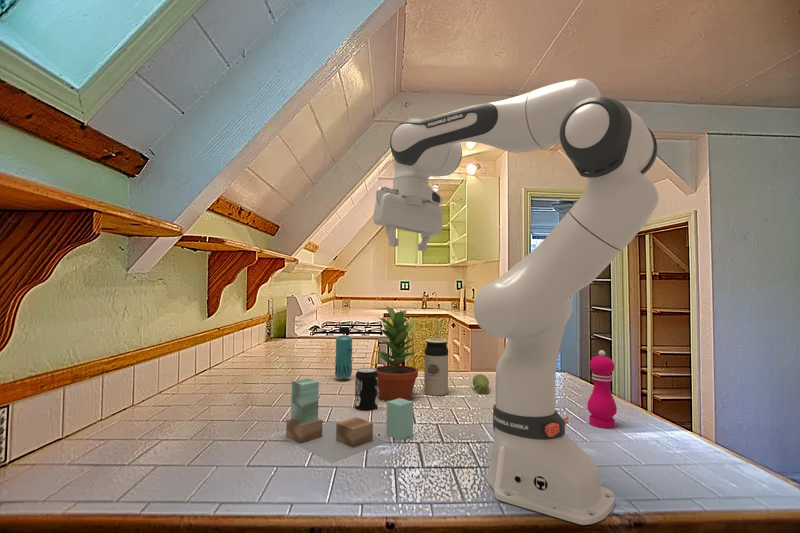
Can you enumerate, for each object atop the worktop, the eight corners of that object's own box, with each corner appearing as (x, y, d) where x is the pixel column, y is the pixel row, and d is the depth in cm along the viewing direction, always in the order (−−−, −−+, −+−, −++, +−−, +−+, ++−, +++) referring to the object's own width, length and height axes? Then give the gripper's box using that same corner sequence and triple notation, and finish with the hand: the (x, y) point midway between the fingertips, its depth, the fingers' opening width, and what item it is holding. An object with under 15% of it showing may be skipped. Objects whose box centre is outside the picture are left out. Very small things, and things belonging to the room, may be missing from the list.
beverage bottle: (332, 381, 159) (333, 327, 160) (337, 377, 166) (338, 325, 166) (349, 382, 158) (350, 328, 159) (354, 378, 165) (354, 326, 165)
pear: (487, 372, 154) (492, 383, 144) (486, 386, 154) (491, 398, 144) (471, 371, 154) (475, 383, 144) (471, 385, 154) (475, 397, 145)
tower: (322, 436, 101) (323, 381, 102) (300, 443, 97) (301, 385, 97) (307, 430, 105) (308, 377, 106) (286, 436, 101) (287, 381, 101)
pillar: (412, 439, 103) (413, 401, 103) (399, 444, 100) (400, 405, 100) (399, 434, 106) (399, 398, 107) (386, 439, 103) (386, 401, 103)
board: (387, 446, 99) (387, 441, 99) (332, 467, 87) (332, 462, 87) (334, 424, 113) (334, 420, 113) (280, 440, 101) (280, 436, 101)
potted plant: (412, 405, 130) (413, 307, 131) (366, 400, 135) (367, 305, 136) (425, 393, 144) (426, 304, 145) (383, 389, 149) (384, 303, 150)
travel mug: (432, 388, 151) (432, 337, 151) (452, 392, 146) (452, 339, 147) (419, 393, 144) (420, 340, 145) (440, 397, 140) (440, 342, 140)
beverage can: (374, 415, 121) (374, 372, 121) (351, 413, 122) (352, 371, 123) (379, 408, 127) (380, 367, 128) (358, 406, 129) (359, 366, 129)
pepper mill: (620, 424, 116) (620, 350, 117) (611, 431, 111) (611, 353, 111) (592, 418, 121) (592, 347, 121) (583, 424, 116) (583, 350, 116)
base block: (372, 440, 99) (372, 423, 100) (352, 447, 95) (353, 429, 95) (355, 433, 104) (356, 417, 104) (336, 440, 99) (336, 422, 99)
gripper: (385, 181, 97) (383, 241, 96) (447, 199, 111) (445, 252, 109) (369, 187, 102) (366, 244, 101) (430, 203, 115) (428, 254, 114)
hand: (408, 248), depth 105 cm, fingers open, 8 cm apart
